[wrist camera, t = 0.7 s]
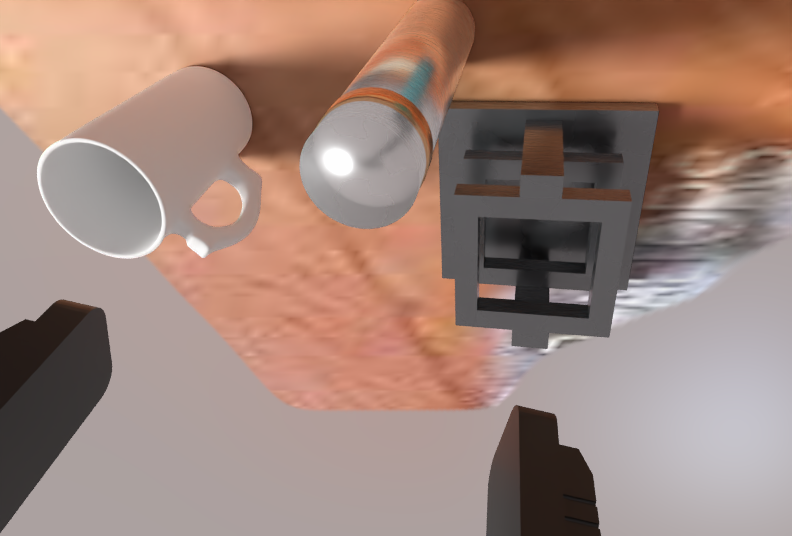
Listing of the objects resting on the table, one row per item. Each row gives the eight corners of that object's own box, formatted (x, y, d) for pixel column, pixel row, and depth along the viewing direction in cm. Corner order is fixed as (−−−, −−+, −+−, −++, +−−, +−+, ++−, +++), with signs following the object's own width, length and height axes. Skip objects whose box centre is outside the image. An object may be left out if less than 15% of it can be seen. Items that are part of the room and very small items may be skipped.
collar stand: (656, 102, 35) (680, 167, 28) (625, 279, 41) (638, 364, 35) (440, 101, 37) (416, 160, 30) (444, 268, 44) (425, 346, 37)
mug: (143, 117, 42) (21, 204, 32) (183, 37, 38) (58, 109, 28) (268, 208, 44) (189, 315, 34) (318, 141, 40) (244, 240, 31)
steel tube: (476, -10, 33) (417, 116, 19) (475, 68, 36) (423, 232, 21) (400, -8, 34) (289, 114, 20) (404, 68, 36) (307, 227, 22)
